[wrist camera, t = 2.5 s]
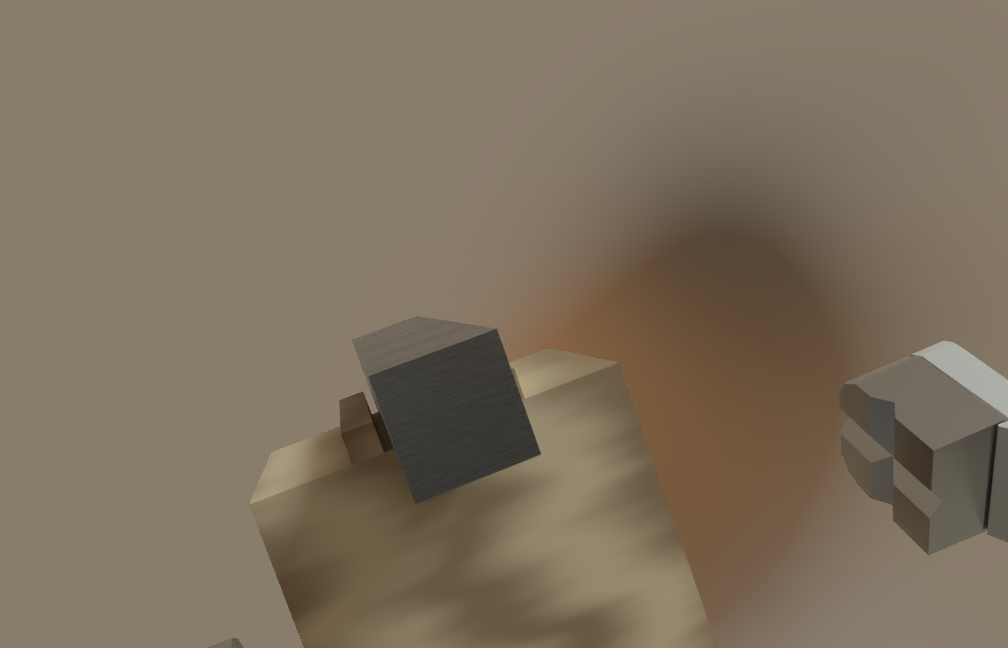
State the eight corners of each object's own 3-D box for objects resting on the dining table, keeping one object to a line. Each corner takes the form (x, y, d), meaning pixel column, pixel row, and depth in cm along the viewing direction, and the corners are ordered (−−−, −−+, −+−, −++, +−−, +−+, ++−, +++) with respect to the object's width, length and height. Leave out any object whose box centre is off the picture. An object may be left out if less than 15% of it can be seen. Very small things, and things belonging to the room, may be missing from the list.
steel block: (415, 504, 21) (368, 376, 21) (375, 404, 42) (351, 339, 41) (541, 454, 21) (496, 328, 21) (440, 380, 42) (416, 316, 42)
